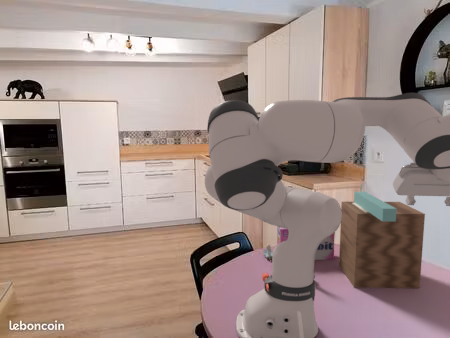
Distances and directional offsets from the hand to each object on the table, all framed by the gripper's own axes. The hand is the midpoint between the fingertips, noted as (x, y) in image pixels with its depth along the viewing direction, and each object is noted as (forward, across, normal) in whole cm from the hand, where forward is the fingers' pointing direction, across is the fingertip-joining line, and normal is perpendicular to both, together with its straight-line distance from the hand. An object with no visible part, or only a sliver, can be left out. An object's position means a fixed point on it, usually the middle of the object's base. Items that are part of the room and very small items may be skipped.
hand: (428, 203), depth 85 cm
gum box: (+62, -21, +21) cm, 68 cm away
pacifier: (+61, -35, +19) cm, 73 cm away
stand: (+50, +2, +7) cm, 51 cm away
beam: (+26, -3, +18) cm, 32 cm away
